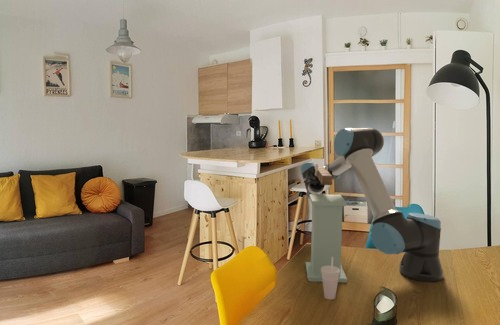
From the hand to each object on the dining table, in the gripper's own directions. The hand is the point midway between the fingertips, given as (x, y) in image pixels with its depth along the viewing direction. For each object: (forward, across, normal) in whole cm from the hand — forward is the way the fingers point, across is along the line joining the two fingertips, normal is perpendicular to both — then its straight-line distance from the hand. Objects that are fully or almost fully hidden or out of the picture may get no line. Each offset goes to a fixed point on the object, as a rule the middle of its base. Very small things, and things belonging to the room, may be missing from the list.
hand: (321, 167), depth 145 cm
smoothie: (+11, +1, -52) cm, 53 cm away
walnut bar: (+1, 0, -6) cm, 6 cm away
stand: (-5, 0, -43) cm, 43 cm away
